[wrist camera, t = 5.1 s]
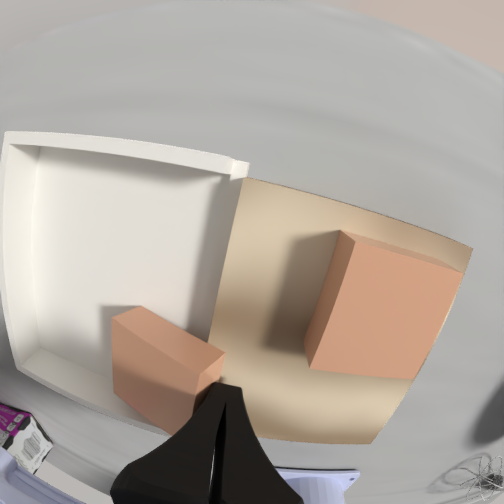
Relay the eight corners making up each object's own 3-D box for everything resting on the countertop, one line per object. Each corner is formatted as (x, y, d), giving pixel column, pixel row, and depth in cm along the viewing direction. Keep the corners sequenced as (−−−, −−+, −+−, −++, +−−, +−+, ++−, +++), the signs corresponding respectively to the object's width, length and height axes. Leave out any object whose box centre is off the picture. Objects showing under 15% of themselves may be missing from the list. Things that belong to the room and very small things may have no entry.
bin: (197, 406, 16) (188, 442, 13) (39, 347, 16) (16, 368, 13) (250, 163, 12) (245, 160, 9) (41, 134, 12) (5, 131, 9)
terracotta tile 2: (397, 355, 12) (413, 379, 10) (303, 340, 12) (309, 368, 10) (438, 259, 11) (463, 273, 9) (340, 229, 11) (355, 241, 9)
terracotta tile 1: (208, 423, 13) (186, 445, 11) (137, 378, 15) (113, 392, 13) (225, 352, 12) (199, 374, 10) (141, 305, 14) (111, 317, 12)
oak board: (363, 423, 16) (370, 444, 14) (198, 400, 16) (192, 423, 14) (451, 239, 13) (473, 248, 11) (246, 177, 12) (244, 177, 10)
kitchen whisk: (491, 491, 24) (500, 510, 18) (446, 472, 20) (463, 508, 14) (514, 471, 23) (525, 490, 17) (488, 439, 18) (509, 473, 12)
